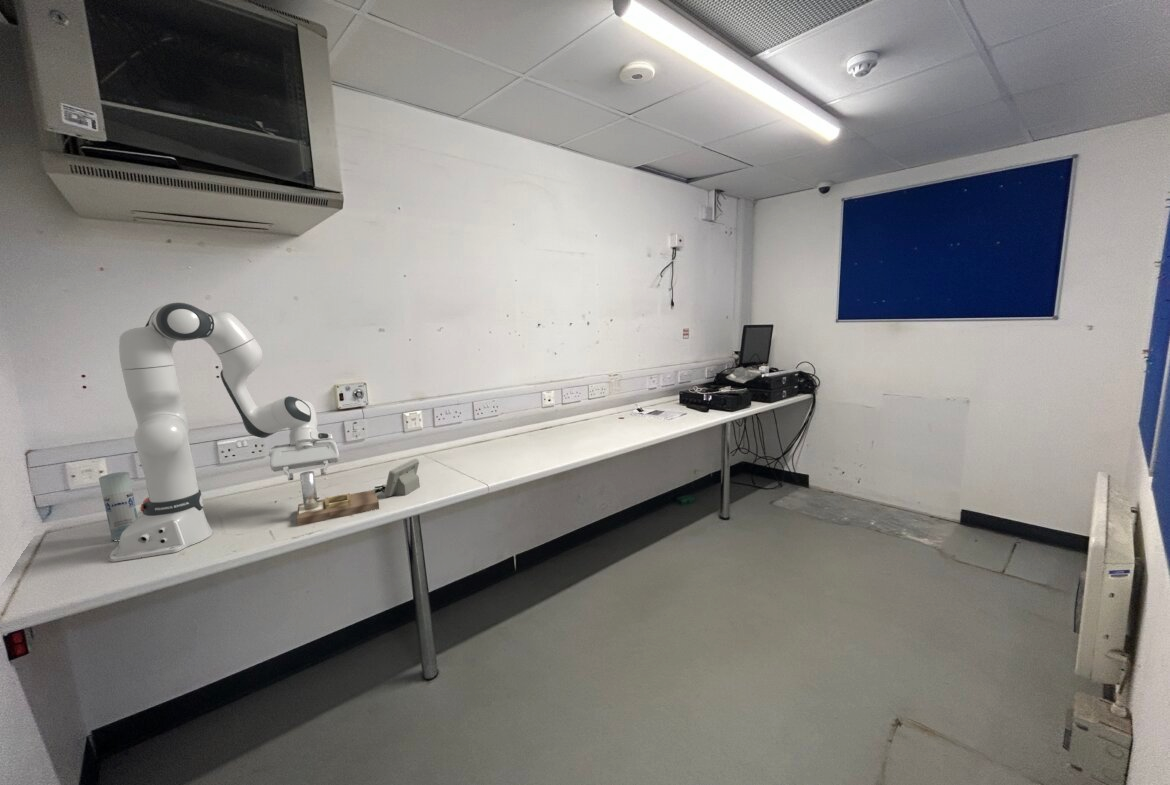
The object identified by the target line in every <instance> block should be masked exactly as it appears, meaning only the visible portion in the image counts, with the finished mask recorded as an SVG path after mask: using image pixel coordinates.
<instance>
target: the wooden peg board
mask: <svg viewBox="0 0 1170 785" xmlns="http://www.w3.org/2000/svg"><path fill="white" fill-rule="evenodd" d="M317 500H318V499H317ZM375 509H376V510H379V509H380V502H379V499H378V497H377V494H376V491H375V489H372V490H366V491H361V492H360V491H359V492H355V493H343V494H340V495H339V494H338V495H333V496H328V497H325V498H323V499H320V500H318V507H317V508H315V509H311V510H305V509H304V502H303V503H298V505H297V513H296V514H297V515H296V524H297V527H300V526H305V525H309V524H314V523H319V522H324V521H328V520H329V521H330V520H334V519H338V518H339V519H340V518H343V517H347V516H352V515H357V514H361V513H367V512H371V510H372V511H375ZM366 511H367V512H366Z"/></svg>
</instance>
